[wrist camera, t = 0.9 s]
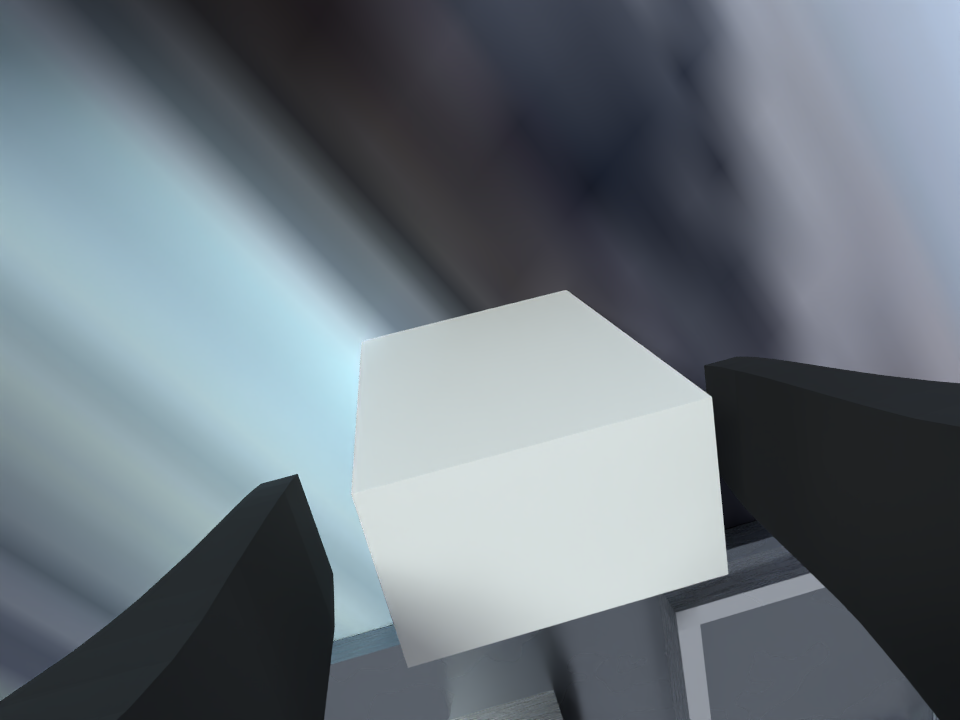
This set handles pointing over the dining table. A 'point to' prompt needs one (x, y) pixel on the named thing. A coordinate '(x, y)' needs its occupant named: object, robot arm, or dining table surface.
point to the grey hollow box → (652, 659)
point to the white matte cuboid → (529, 474)
